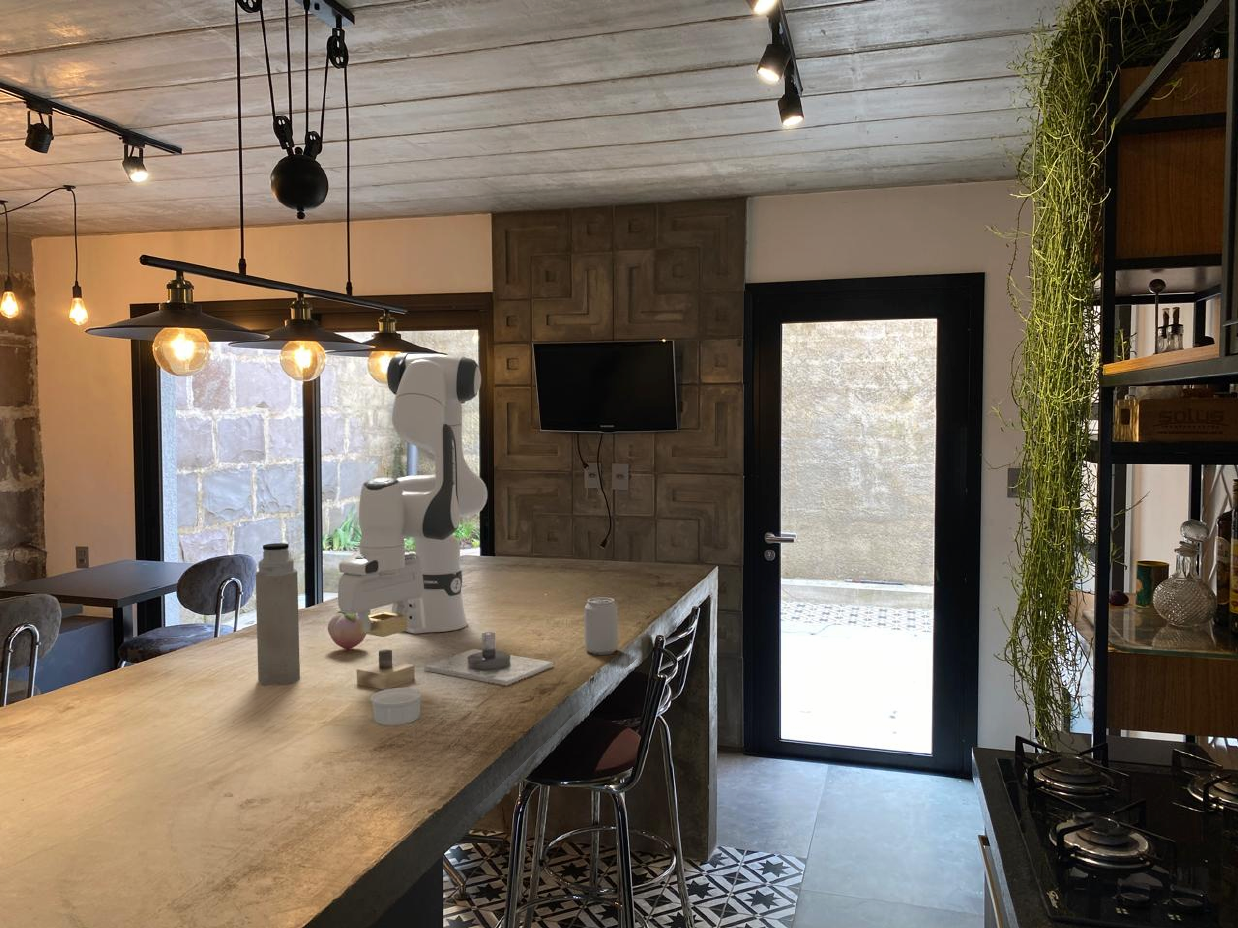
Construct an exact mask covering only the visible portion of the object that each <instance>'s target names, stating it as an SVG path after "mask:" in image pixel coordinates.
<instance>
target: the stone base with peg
mask: <svg viewBox="0 0 1238 928" xmlns="http://www.w3.org/2000/svg"><path fill="white" fill-rule="evenodd" d="M423 668H424V669H423V671H426V672H431V673H435V674H441V675H445V676H446V675H447V676H451V677H456V678H463V679H468V680H474V681H478V682H483V683H484V682H485V683H488V682H489V684H493V683H494V684H493V685H499V684H500V686H504V685H505V687H507V685H508V686H509V685H513V684H515V683H517V682H519V680H520V681H522V680H524V678H525V679H526V678H529V677H533V676H534V675H536V674H539V673H541V672H544V671H546V670H549V669H551V668H554V661H549V660H543V659H536V658H529V657H524V656H519V655H518V656H517V655H512V654H509V653H506V652H503V651H497V650H496V632H492V631H490V632H482V633H481V649H477V648H472V649H469V650H467V651H464V652H461V653H457V654H454V655H452V656H449V657H446V658H443V659H440V660H438V661H437V660H436V661H434V662H432V663H428V664H425V665H423ZM521 679H522V680H521ZM514 682H515V683H514ZM512 683H513V684H512Z"/></svg>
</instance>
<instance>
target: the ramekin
mask: <svg viewBox="0 0 1238 928" xmlns="http://www.w3.org/2000/svg"><path fill="white" fill-rule="evenodd" d="M422 696H423V692H422V691H421V690H419V689H416V688H413V687H412V688H411V687H393V688H390V689H387V690H384V689H382V690H380V691H377V692H375V693H373V694H372V695H371V696H370V702H371V705H372V712H373V713H372V714H373V721H375V723H377V724H379V725H382V726H402V725H407V724H410V723H412V722H415V721H417V720H418V718H419V717H420V715H421V701H422V700H421V699H422Z"/></svg>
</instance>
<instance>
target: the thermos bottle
mask: <svg viewBox="0 0 1238 928" xmlns="http://www.w3.org/2000/svg"><path fill="white" fill-rule="evenodd" d="M262 550H263V551H262V553H263V558H262V559H261V560H259V561H258V567H257V568H258V570H259V571H256V572H255V602H256V603H255V604H256V609H255V610H256V637H257V639H256V641H257V642H256V643H257V644H256V645H257V647H256V648H257V676H258V678H257V679H258V680H257V681H258V683H259V684H260V685H263V686H283V685H288V684H292V683H295V682H297V681H298V680H300V679H301V667H300V666H301V663H300V662H301V661H300V634H299V633H300V627H299V592H298V591H299V590H298V589H299V586H298V570H297V569H295V567H294V566H295V562H294V559H293V558H291V557H290V551H289V543H285V542H284V543H282V542H281V543H280V542H277V543H276V542H275V543H266V544H263V545H262Z"/></svg>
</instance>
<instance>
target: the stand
mask: <svg viewBox="0 0 1238 928" xmlns="http://www.w3.org/2000/svg"><path fill="white" fill-rule="evenodd" d="M415 679H416V678H415V664H410V663H404V662H399V661H394V660H393V650H392V649H389V648H388V649H387V648H386V649H381V650H378V662H375V663H372V664H369V665H366V666H363V667H359V668H356V685H361V686H365V687H370V688H374V689H380V690H387V689H393V688H396V687H398V686H401V685H404V684H406V683H408V682H411V681H414V680H415Z"/></svg>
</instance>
